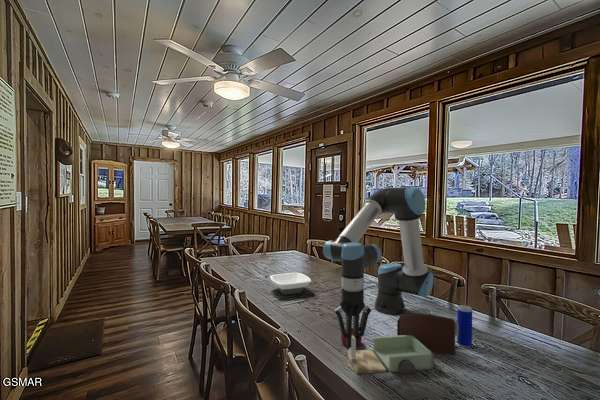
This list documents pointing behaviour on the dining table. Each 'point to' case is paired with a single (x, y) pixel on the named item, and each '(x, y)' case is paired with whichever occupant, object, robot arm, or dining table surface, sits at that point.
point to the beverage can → (464, 325)
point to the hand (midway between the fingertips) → (352, 355)
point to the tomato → (344, 340)
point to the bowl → (290, 282)
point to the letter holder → (429, 331)
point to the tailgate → (367, 362)
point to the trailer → (403, 354)
